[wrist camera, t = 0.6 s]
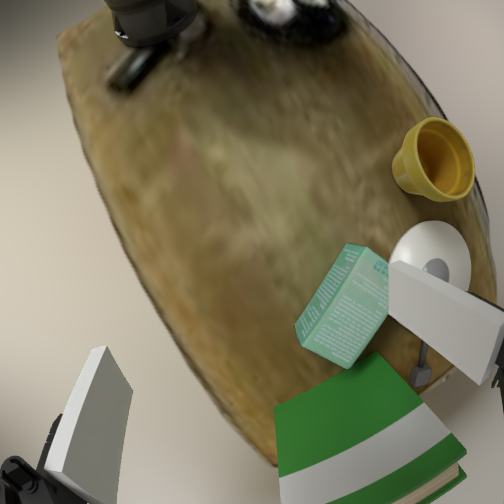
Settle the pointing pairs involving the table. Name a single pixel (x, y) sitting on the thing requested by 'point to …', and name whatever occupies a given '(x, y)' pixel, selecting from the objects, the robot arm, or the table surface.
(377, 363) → the hardback book
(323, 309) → the box
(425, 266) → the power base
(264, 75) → the table surface
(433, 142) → the plant pot
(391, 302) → the robot arm
